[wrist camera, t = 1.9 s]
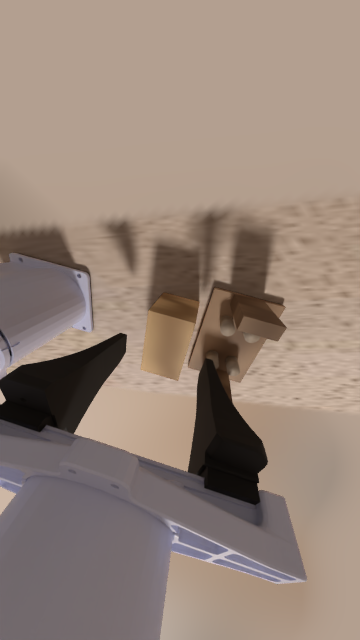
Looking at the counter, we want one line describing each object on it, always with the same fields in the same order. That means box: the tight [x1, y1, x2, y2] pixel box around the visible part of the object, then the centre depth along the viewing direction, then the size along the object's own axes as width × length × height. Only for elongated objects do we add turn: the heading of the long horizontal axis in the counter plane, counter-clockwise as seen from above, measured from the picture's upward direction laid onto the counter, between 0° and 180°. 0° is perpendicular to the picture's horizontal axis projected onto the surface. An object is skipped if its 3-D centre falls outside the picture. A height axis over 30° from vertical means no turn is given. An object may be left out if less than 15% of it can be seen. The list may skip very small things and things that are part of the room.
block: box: [141, 292, 199, 381], centre depth 17 cm, size 4×7×5 cm, turn 168°
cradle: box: [188, 287, 287, 402], centre depth 16 cm, size 7×11×6 cm, turn 168°
